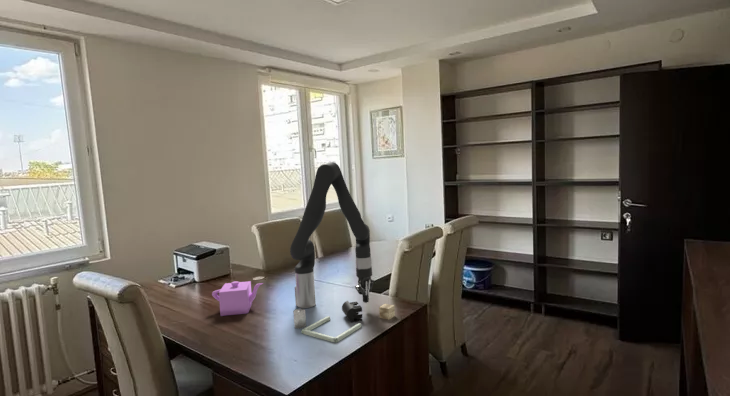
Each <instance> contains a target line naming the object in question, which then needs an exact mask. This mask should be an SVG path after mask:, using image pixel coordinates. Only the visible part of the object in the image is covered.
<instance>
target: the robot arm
mask: <svg viewBox="0 0 730 396" xmlns="http://www.w3.org/2000/svg"><path fill="white" fill-rule="evenodd" d="M331 186H332V187H333V189H334V191H335V193H336V198H337V201H338V205H339V209H340V211H341V212H342V214H343V216H344V217H345V219H346V221H347V223H348V225H349V228H350V229H351V232H352V234H353V236H354V237H355V248H354V249H355V274H356V277H357V278H358V280H357V284H356V285H355V286H354V288H355V290H356V291H357V292H358V294H359V295H362V301H363V303H365V304H367V303H369V300H370V299H369V294H370V293H371V292H372V290H373V287H374V284H375V280H374V279H372V276H373V265H372V264H373V263H372V262H373V261H372V257H371V256H372V255H371V246H370V245H371V244H370V242H371V240H370V239H371V238H370V237H371V235H370V234H371V232H370V227H369V226H368V224H366V223H365V222H364V220H363V218H362V216H361V212H360V210H359V208H358V206H357V205H356V203H355V202H354V199H353V197H352V195H351V193H350V191H349V188H348V186H347V184H346V181H345V178H344V175H343V173H342V170H341V168H340V166H339V165H338V164H337V163H336V162H334V161H329V162H325V163H322V164H321V165H319V167H318V168H317V170H316V172H315V176H314V181H313V186H312V189H311V192H310V195H309V198H308V201H307V203H306V206H305V209H304V212H303V215H302V219H301V221H300V224H299V227H298V229H297V232H296V234H295V236H294V238H293V240H292V243H291V245H290V248H289V251H290V252H289V253H290V256H291V258H292V259H293V260H296V261H299V262H298V263H297V264H296V265H295V267H294V275H295V276H294V278H295V279H294V280H295V286H294V301H295V306H297V308H298V309H310V308H312V307H315V306H316V290H315V289H316V288H315V285H316V284H315V272H314V270H315V269H314V268H315V263H316V262H315V261H316V259H315V258H316V257H315V256H316V253H315V252H316V250H315V249H316V248H315V246H314V245H315V244H314V243H313V241H312V240H311V239H310V238H311V236H312V235H313V234H314V232H315V231H316V229H318V227H319V225H320V224H321V222H322V220H323V218H324V215H325V213H326V210H327V209H326V208H327V194H328V192H329V190H330V187H331Z"/></svg>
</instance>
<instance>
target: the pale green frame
mask: <svg viewBox="0 0 730 396" xmlns="http://www.w3.org/2000/svg"><path fill="white" fill-rule="evenodd" d="M329 321H331V316H330V315H327V316H325V317H324V318H321V319H320V320H317V321H316V322H314V323H312V324H310V325H308V326H306V327H304V328H301V334H303V335H306V336H310V337H314V338H317V339H321V340H324V341H328V342H332V343H334V344H336V343H338V342H340V341H341V340H343V339H344V338H347V336H349V335H351V334H352V333H354V332H356V331H357V330H359V329H360V328H362V323H360V322H357V323H356V324H355V325H353V326H351V327H350V328H348V329H346V330H345V331H343V332H342V333H340V334H338V335H336V336H332V335H328V334H324V333H320V332H317V331H314V329H316V328H318V327H320V326H321V325H323V324H325V323H327V322H329ZM312 330H313V331H312Z"/></svg>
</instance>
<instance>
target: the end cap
mask: <svg viewBox="0 0 730 396" xmlns="http://www.w3.org/2000/svg"><path fill="white" fill-rule="evenodd" d="M341 310H342V313H343V314H344V315H345V317H346V318H347V319H348V321H350V322H351V323H356V322H357V323H359V322H363V314H362V312H363V306H361V305H360V304H359V302H358V301H352V302H351V301H350V302H349V300H346V301H344V302H343V303H342V306H341ZM360 312H361V313H360Z"/></svg>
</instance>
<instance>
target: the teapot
mask: <svg viewBox="0 0 730 396" xmlns="http://www.w3.org/2000/svg"><path fill="white" fill-rule="evenodd" d="M261 285H264V282H261V283H260V282H259V283H256V284H255V285H254V287H253V290H252V281H251V280H248V281H237V280H236V281H235V280H234V281H232V282H228V283H227V282H225V283H224V284H223V285H222V287H221V288H220V289H216V290H214V291H212V292H211V296H212V297H213V298H214V299H215V300H216V301H218V302H219V313H220V317H223V316H234V315H236V316H237V315H244V314H249V312H250V310H251V307H252V305H253V301H254V300H255V298H256V296H257V293H258V289H259V288H260V286H261Z"/></svg>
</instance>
